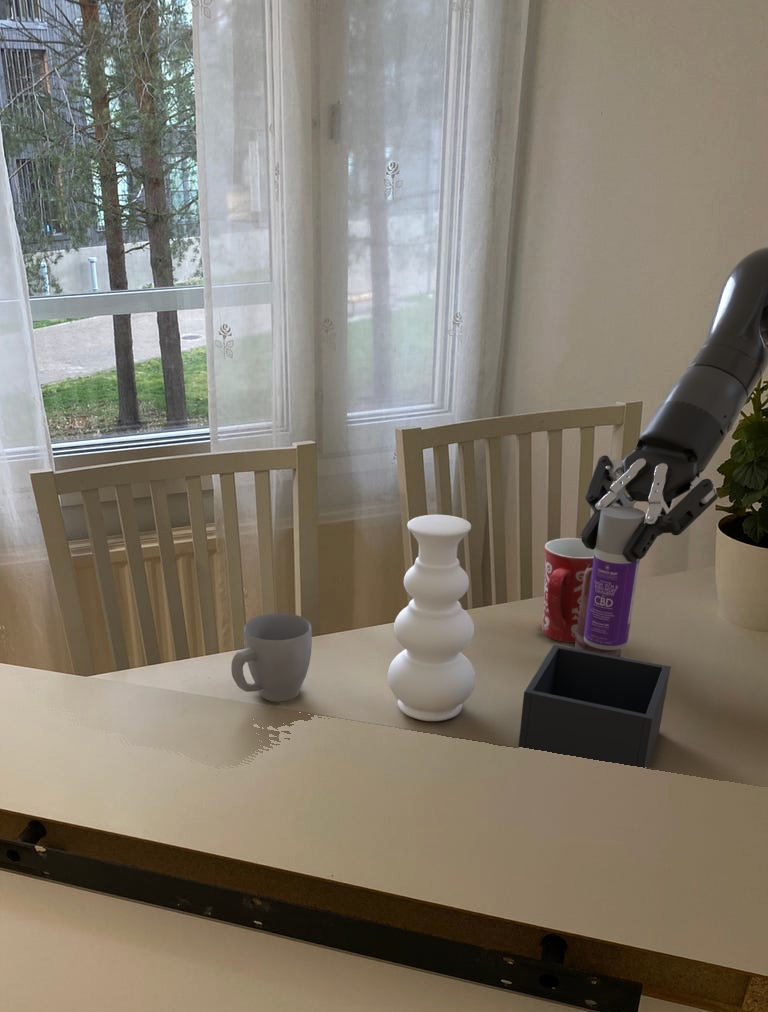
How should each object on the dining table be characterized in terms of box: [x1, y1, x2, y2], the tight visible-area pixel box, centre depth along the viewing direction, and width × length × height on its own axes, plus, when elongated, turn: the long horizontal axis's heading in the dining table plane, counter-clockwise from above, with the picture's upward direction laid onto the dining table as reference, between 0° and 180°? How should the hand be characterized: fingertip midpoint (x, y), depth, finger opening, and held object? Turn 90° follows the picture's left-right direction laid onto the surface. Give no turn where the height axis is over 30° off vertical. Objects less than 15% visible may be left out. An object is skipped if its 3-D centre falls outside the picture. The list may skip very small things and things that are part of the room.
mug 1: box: [230, 612, 313, 703], centre depth 118 cm, size 12×9×10 cm
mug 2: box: [542, 537, 595, 643], centre depth 132 cm, size 13×9×14 cm
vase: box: [387, 514, 476, 722], centre depth 111 cm, size 11×11×25 cm
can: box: [574, 562, 622, 657], centre depth 125 cm, size 6×6×14 cm
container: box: [584, 506, 646, 650], centre depth 99 cm, size 5×5×15 cm
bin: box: [518, 644, 672, 769], centre depth 106 cm, size 14×14×9 cm
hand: (607, 551), depth 96 cm, fingers closed on container, 4 cm apart
